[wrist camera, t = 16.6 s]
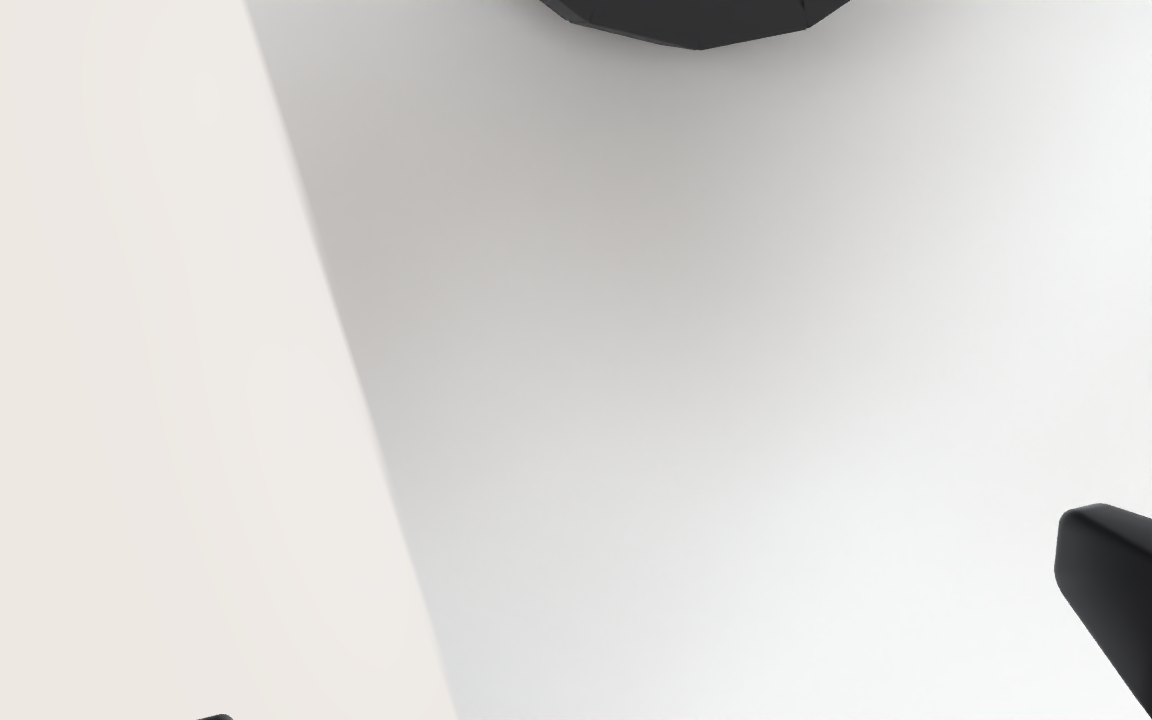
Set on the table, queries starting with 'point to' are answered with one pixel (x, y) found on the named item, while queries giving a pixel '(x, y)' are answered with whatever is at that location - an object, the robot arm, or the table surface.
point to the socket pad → (695, 19)
